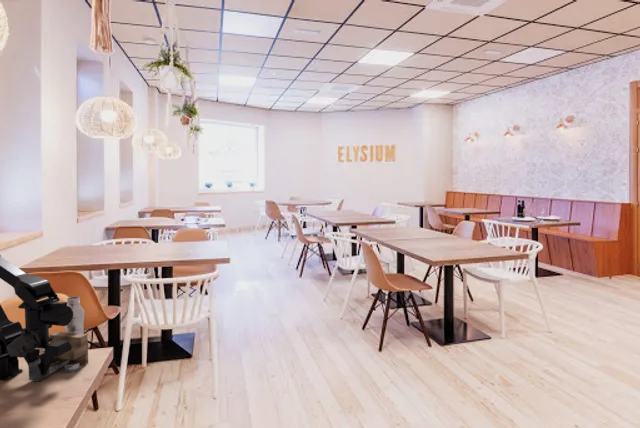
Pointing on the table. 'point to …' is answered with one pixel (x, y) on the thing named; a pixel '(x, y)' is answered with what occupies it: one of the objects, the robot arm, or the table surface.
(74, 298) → the plastic bottle
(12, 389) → the table surface
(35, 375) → the grey mallet
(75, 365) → the steel token
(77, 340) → the plinth cabinet
